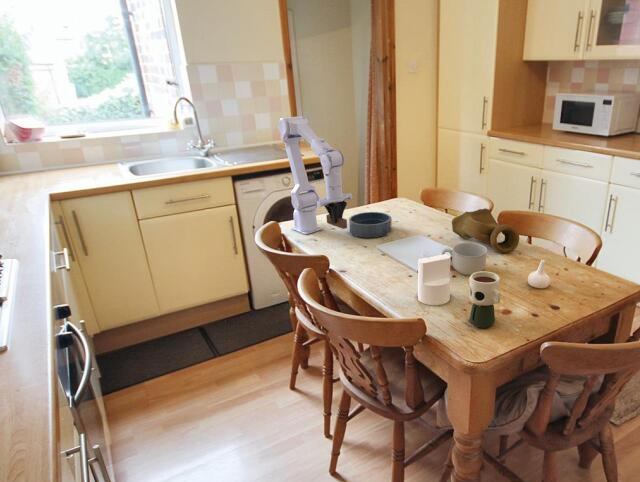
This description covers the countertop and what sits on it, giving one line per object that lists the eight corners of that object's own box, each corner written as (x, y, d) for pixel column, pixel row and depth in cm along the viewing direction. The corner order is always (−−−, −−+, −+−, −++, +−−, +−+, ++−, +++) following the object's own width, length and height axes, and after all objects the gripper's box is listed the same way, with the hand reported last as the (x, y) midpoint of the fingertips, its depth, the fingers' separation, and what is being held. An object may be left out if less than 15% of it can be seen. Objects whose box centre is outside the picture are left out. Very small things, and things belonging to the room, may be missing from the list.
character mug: (457, 317, 121) (459, 272, 116) (478, 310, 124) (481, 266, 119) (485, 337, 112) (489, 289, 107) (507, 328, 115) (511, 281, 110)
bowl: (341, 232, 185) (340, 218, 183) (372, 222, 195) (371, 209, 193) (368, 242, 173) (368, 228, 171) (400, 231, 184) (400, 217, 182)
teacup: (488, 266, 150) (489, 243, 147) (483, 280, 140) (484, 256, 137) (445, 262, 154) (446, 239, 151) (438, 275, 145) (438, 252, 142)
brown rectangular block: (326, 223, 174) (326, 214, 173) (330, 221, 175) (330, 213, 174) (343, 229, 167) (342, 220, 166) (347, 227, 169) (346, 219, 167)
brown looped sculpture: (502, 212, 178) (527, 220, 157) (492, 244, 180) (515, 257, 159) (457, 200, 174) (477, 207, 153) (447, 233, 177) (466, 244, 156)
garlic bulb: (524, 280, 140) (527, 256, 137) (545, 280, 139) (548, 255, 136) (530, 290, 134) (532, 264, 131) (552, 290, 134) (555, 264, 130)
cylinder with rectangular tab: (427, 308, 126) (427, 267, 121) (412, 294, 134) (412, 255, 129) (455, 300, 129) (457, 261, 125) (439, 288, 137) (440, 250, 132)
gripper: (324, 191, 158) (327, 229, 164) (356, 183, 167) (358, 219, 173) (312, 187, 163) (315, 224, 168) (344, 180, 172) (346, 215, 177)
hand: (336, 221), depth 171 cm, fingers closed on brown rectangular block, 2 cm apart
